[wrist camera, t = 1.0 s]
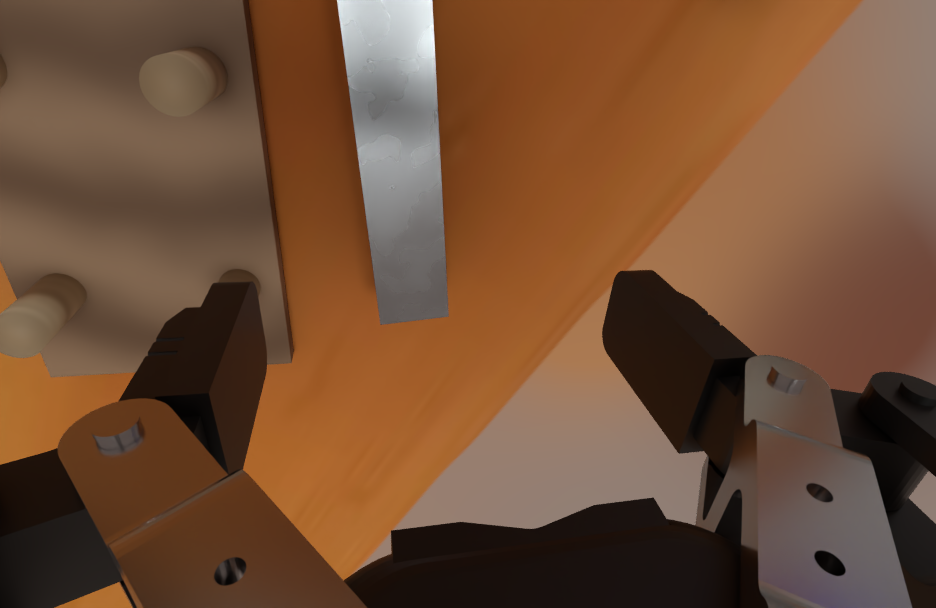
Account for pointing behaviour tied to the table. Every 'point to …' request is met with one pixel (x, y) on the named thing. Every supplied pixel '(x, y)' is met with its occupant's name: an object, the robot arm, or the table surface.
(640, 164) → the table surface
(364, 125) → the bar
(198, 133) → the cradle
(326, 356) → the table surface
